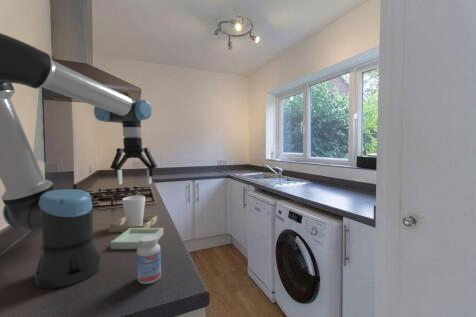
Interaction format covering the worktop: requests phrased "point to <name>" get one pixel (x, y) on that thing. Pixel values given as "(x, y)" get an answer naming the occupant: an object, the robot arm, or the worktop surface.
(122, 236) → the tray
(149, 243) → the pill bottle
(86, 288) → the worktop surface
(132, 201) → the foam cup
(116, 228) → the holder
